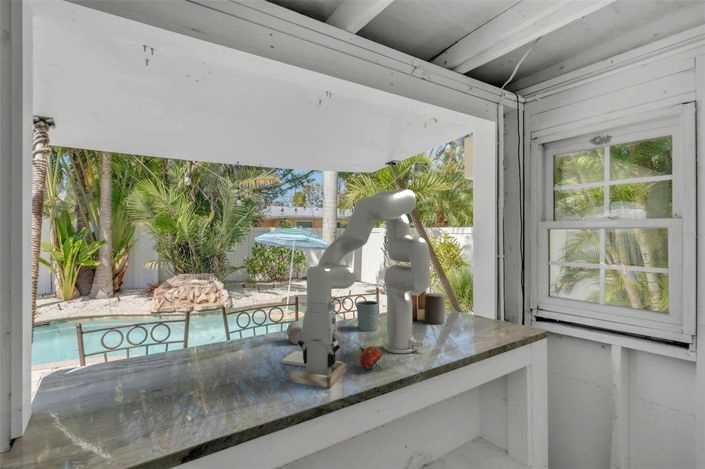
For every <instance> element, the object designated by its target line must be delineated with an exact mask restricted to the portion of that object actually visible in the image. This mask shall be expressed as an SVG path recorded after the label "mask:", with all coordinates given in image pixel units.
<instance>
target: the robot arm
mask: <svg viewBox="0 0 705 469" xmlns="http://www.w3.org/2000/svg"><path fill="white" fill-rule="evenodd" d="M416 204H417V197H416V195H415V193H414V192H413V191H412V190H411V189H408V188H402V189H390V190H389V189H388V190H382V191H378V192H376V193H375V194H374V195H373V196H370V195H369V196H364V197H361V198H360V199H359V200H358V201H357V202H356V204H355V207H354V209H353V211H352V213H351V216H350V217H349V220H348V222H347V224H346V226H345V228H344V230H343V231H342V233H341V234H340V235H339V236H338V237H337V238H335V240H334V241H333V242H332V243H331V244H329V245H328V247H327V248H326V249H325V250H324V251H323V253H322V255H321V257H320V260H319V261H318V264H317V265H315V266H309V267H308V268H307V271H306V310H304V314H303V319H302V323H303V327H302V331H300V332H299V333H298V334H296V335H295V336H294V337H295V339H296V340H297V342H298V344H297V345H298V346H299V347H300V349H301V350H300V351H301V352H303V360H304V364H307V343H309V342H310V340H313V341H323V342H322V343H323V344H324V345H326V346H328V350H329V352H330V354H328V367H330V368H331V367H332V366H333V365H334V364H335V361H336V352H338V350H340V348H342V346H343V345H344V343H345V341H346V340H345V339H344V338H343V337H342V336H341V335H340V334H339V333H338V330H337V329H338V328H337V320H336V315H335V314H336V313H335V311H334V310H333V309H336V304H335V303H333V301H332V290H333V289H336V290H337V289H340V290H345V289H348V288H351V287H352V286H353V285H354V284H355V282H356V279H357V275H356V272H355V269H353V268H352V267H351V266H349V265H345V264H340V262H341V260H342V259H343V258H344V257H346V256H347V254H349V253H352V252H353V251H356V250H358V249H360V248H361V247H363V246H366V244H367V243H368V240H369V238H370V236H371V234H372V231H373V228H374V226H375V224H376V223H377V222H382V221H383V222H384V221H385V223H386V230H387V254H388V258H389V259H390V260H392V261H394V262H400V263H401V262H402V263H410V265H404V264H394V265H393V264H392V265H391V266H388V268H386V269H385V273H384V276H383V278H384V284H385V291H386V341H385V342H384V343H383V344H382V348H383V350H385V352H386V351H387V352H388V353H394V354H409V353H413V352H415V351H416V350H417V347H419V348H424V346H425V342H424V341H422V339H416V338H415V336H414V335H413V299H412V297H411V294H410V293H415V294H423V293H425V292H427V290H428V288H429V286H430V281H431V272H430V271H431V268H430V267H431V266H430V265H431V262H430V260H431V258H430V255H431V254H430V248H429V244H428V242H427V241H426V240H425V239H424V238H423V237H421V236H411V227H410V220H409V218H408V216H407V214H410V213H411V212H412V211H414V209H415V208H416V206H417V205H416ZM301 336H302V338H301ZM336 342H337V344H336V345H335V343H336Z"/></svg>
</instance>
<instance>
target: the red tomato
mask: <svg viewBox="0 0 705 469" xmlns="http://www.w3.org/2000/svg"><path fill="white" fill-rule="evenodd" d="M358 350H360V352H361V353H360V355H359V356H358V359H359V360H358V361H359V364H360V366H361V367H362V368H363V369H365V370H366V371H369V370H371V369H372V367H373V366H374V365H375V366H376V367H378V368H379V369H380V370H381V371H383V369H382V368H381V367H380V366H379V365H378V363H377V362H378V361H379V360H380V359H381V357H382V356H383V354H382V351H381V350H380V349H379V348H378V347H375V346H372V345H370V346H367V347H366V348H362V347H359V348H358Z"/></svg>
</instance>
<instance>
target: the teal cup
mask: <svg viewBox="0 0 705 469" xmlns="http://www.w3.org/2000/svg"><path fill="white" fill-rule="evenodd" d="M356 317H357V326H358V327H357V328H358V330H359V331H362V332H374V331H375V332H376V331H377V330H378V322H379V320H378V319H379V302H378V301H376V300H360V301H356Z"/></svg>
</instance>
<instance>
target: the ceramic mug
mask: <svg viewBox="0 0 705 469" xmlns="http://www.w3.org/2000/svg"><path fill="white" fill-rule="evenodd" d="M302 327H303V321H298V320H294V321H292V322H290V323H289V324H288V326H287V328H286V334H287V338H288V340H289V341H290V342H291V343H292V344H294V345H299V344H298V342H297V340H296V339H295V337H294V336H295V335H296V334H298V333H299V332H300V331H302ZM301 338H302V336H301Z"/></svg>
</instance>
